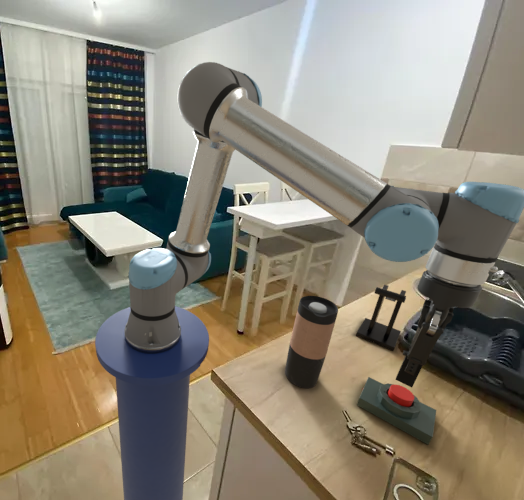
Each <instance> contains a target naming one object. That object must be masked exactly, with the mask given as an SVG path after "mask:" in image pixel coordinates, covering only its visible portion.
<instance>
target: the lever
mask: <svg viewBox="0 0 524 500" xmlns="http://www.w3.org/2000/svg"><path fill="white" fill-rule="evenodd" d="M382 288H383V287H378V286H376V287H375V289H374V294H375V295H378V296H379V295H381V296H384V297H385V298H384V300H387V301H391V302H394V303H396V302H397V301H400V302H402V303H403V304H405V302H406V300H405V298H406V299H407V296H406V295H405V296H404V295H401V294H400V293H398V292H395V291H392V290H388V289H387V290H385V289H382ZM404 301H405V302H404Z"/></svg>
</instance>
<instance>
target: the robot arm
mask: <svg viewBox="0 0 524 500" xmlns="http://www.w3.org/2000/svg"><path fill="white" fill-rule="evenodd" d="M176 98H177V100H176V101H177V108H178V111H179V114H180V116H181V117H182V119H183V121H184V122H185V123H186V124H187V125H188V126H189V127H190V128H192V129H193V131H192V135H194V138H195V139H196V141H197V143H196V147H195V152H194V154H193V155H194V156H193V160H192V164H191V169H190V171H189V176H188V181H187V184H186V189H185V192H184V196H183V201H182V206H181V208H180V213H179V218H178V222H177V226H176V229H175V231H173V232H171V233H170V234H169V235H168V239H167V244H166V248H162V247H154V248H152V249H151V248H150V249H149V248H147V249H144V250H141V251H139V252H138V253H136V254H134V255H133V257H132V258H131V260H130V262H129V266H128V276H127V277H128V285H129V304H130V305H129V307H130V308H131V312H130V315H129V318H128V322H127V324H126V326H125V340H126V343H127V344H128V345H129V346H130V347H131V348H132V349H134V350H136V351H138V352H142V353H147V354H157V353H162V352H165V351H168V350H170V349H172V348H173V347H175V346H176V345H177V344H178V342H179V340H180V337H181V326H180V324H179V321H178V318H177V315H176V312H175V306H176V295H177V294H178V293H179V292H181V291H182V290H184V289H186V287H189V285H191V284H193V283H194V282H195V281H197V280H199V279H200V278H202V277H204V275H205V274H206V272H207V271H208V270H209V268H210V266H211V264H212V263H211V262H212V253H210V247H211V243H210V242H209V240H208V235H209V233H210V229H211V226H212V222H213V220H214V215H215V213H216V209H217V206H218V203H219V199H220V196H221V193H222V189H223V186H224V184H225V180H226V176H227V174H228V170H229V167H230V164H231V160H232V158H233V157H232V156H233V154H234V152H235V151H237V152H238V153H240V154H241V155H243V156H244V157H246V158H247V159H248V160H250V161H252V162H253V163H254V164H256V165H257V166H259V167H261V169H263V170H265V171H266V172H267V173H269V174H271V175H272V176H274V177H275V178H277V179H278V180H279V181H281V182H283V183H284V184H285V185H287V186H288V187H290V188H291V189H292V190H293V191H296V192H297V193H299V194H300V195H301V196H303V197H304V198H306V199H307V200H309V201H310V202H312V203H313V204H314V205H317V206H318V207H319V208H321V209H322V210H324V211H326V212H327V213H328V214H329V215H330V216H332V217H334V218H335V219H337V220H338V221H339V222H341V223H343V224H344V225H346V226H347V227H348V228H350V230H352V231H354V232H355V233H357V234H358V235H359V236H361V237H362V238H364V240H365V243H366V244H367V246H368V248H369V249H370V251H371V252H372V253H373V254H374V255H376V257H379V258H380V259H382V260H385V261H389V262H393V263H405V262H406V263H407V262H411V261H415V260H418V259H420V258H422V257H424V256H426V255H427V254H429V252H430V251H431V252H430V254H429V257H428V259H427V261H426V263H425V266H424V267H425V269H426V270H424V271H423V272H422V274H421V277H420V279H419V281H418V284H417V291H418V292H419V294H421V295H422V296H423V297H425V300H424V302H423V305H422V308H421V311H420V316H419V319H418V323H417V329H416V331H415V333H414V336H413V338H411V344H410V345H409V346H408V350H404V349H403V352H402V355H403V356H404V358H403V360H402V362H401V365H400V367H399V369H398V372H397V374H396V376H395V378H394V379H395V381H397V382H400V383H402V384H403V385H405V386H408V387H410V388H413V387H414V385H415V382H416V380H417V379H418V376H419V375H420V372H421V370H422V368H423V367H424V366H425V365H427V362H428V361H427V360H428V359H431V357H432V352H433V350H434V348H435V346H436V344H437V342H438V340H439V339H440V337H441V336H442V335H443V334H444V332H445V329H446V327H447V325H448V324H450V323H451V321H452V319H453V318H454V313H453V312H454V310H455V308H459V309H468V308H472V307H473V306H475V304H476V302H477V300H478V298H479V296H480V294H481V292H482V290H483V287H482V285H484V284H486V282H487V280H488V278H489V276H490V274H489V273H492V274H497V273H498V271H499V268H498V267H497V266H495V265H496V262H497V260H498V258H499V257H500V255H501V253H502V251H503V249H504V247H505V246H506V243H507V242H508V239H509V238H510V236H511V234H512V232H513V231H514V229H515V227H516V225H517V224H519V222H520V218H521V215H522V214H523V211H524V188H522V187H519V186H515V185H509V184H502V183H496V182H495V183H494V182H484V181H481V182H480V181H465V182H462V183H461V184H459V186H458V188H457V189H456V190H455V191H454V192H439V191H430V190H423V189H415V188H407V187H399V186H395V185H390V184H388V183H387V182H386V181H384V180H382V179H380V178H379V177H377V176H376V175H374V174H373V173H371V172H369V171H367V170H366V169H364V168H363V167H361V166H359V165H357V164H356V163H354V162H352V161H351V160H349V159H347V158H346V157H344V156H343V155H341V154H340V153H338V152H337V151H335V150H333V149H331V148H330V147H328V146H326V145H325V144H323V143H321V142H320V141H318V140H316V139H314V138H313V137H311V136H310V135H308V134H307V133H305V132H303V131H302V130H300V129H298V128H297V127H295V126H293V125H292V124H290V123H288V122H287V121H286V120H284V119H282V118H280V117H278V116H277V115H276V114H274V113H272V112H271V111H269V110H267V109H265V108H264V107H263V95H262V92H261V90H260V87H259V85H258V84H257V83H256V81H255V80H254V79H253V78H251V77H250V75H248V74H247V73H244V72H242V71H240V70H235V69H233V68H230V67H227V66H226V65H223V64H222V63H218V62H215V61H213V62H212V61H206V62H202V63H198V64H197V65H195V66H193V67H191V68H190V69H189V70H188V71H187V72H186V73H185V75H184V76H183V77H182V79H181V81H180V83H179V86H178V89H177V95H176Z"/></svg>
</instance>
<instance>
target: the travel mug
mask: <svg viewBox="0 0 524 500" xmlns="http://www.w3.org/2000/svg"><path fill="white" fill-rule="evenodd" d="M338 314H339V308H338V306H337V305H336V304H335V303H334V302H332V301H331V300H329V299H328V298H324V297H322V296H319V295H304V296H302V297H301V298H300V299H299V301H298V305H297V310H296V315H295V319H294V323H293V328H292V331H291V335H290V340H289V346H288V351H287V357H286V361H285V370H284V375H285V377H286V378H287V380H288V381H289V382H290V383H291V384H292V385H295V386H296V387H298V388H302V389H312V388H314V387H315V386H316V385H317V383H318V381H319V377H320V374H321V372H322V369H323V366H324V362H325V360H326V357H327V354H328V350H329V347H330V343H331V340H332V339H331V338H332V335H333V331H334V327H335V324H336V322H337V321H336V320H337V317H338Z"/></svg>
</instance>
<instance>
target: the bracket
mask: <svg viewBox="0 0 524 500" xmlns="http://www.w3.org/2000/svg"><path fill="white" fill-rule="evenodd" d="M381 288H382V289H385V290H388V289H389V285H388V284H384V285H383V286H382V287H381ZM406 293H407V291H406V290H403V289H401V290H400V293H399V294H401V295H404V296H406ZM384 300H385V297H384V296H381V295H378V297H377V301H376V303H375V308H374V310H373V312H372V316H371V318H367V317H365V318H364V320H363V321H362V322H361V324H360V326H359V328H358V329H357V331H356V334H355V336H356V337H358V338H361V339H363V340H366V341H368V342H371V343H373V344H375V345H378V346H380V347H382V348H385V349H387V350H390V351H392V352H394V350H395V347H396V345H397V343H398V340H399V338H400V335H401V330H399V329H396V328H394V325H395V322H396V319H397V317H398V314H399V312H400V309H401V307H402V303H403V302H400V301H397V300H396V302H395V305H394V309H393V310H392V313H391V316H390V319H389V321H388V324H383V323H380V322H378V318H379V314H380V312H381V309H382V306H383V303H384ZM406 300H407V297H406V298H405V301H404V303H405V302H406Z"/></svg>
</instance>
